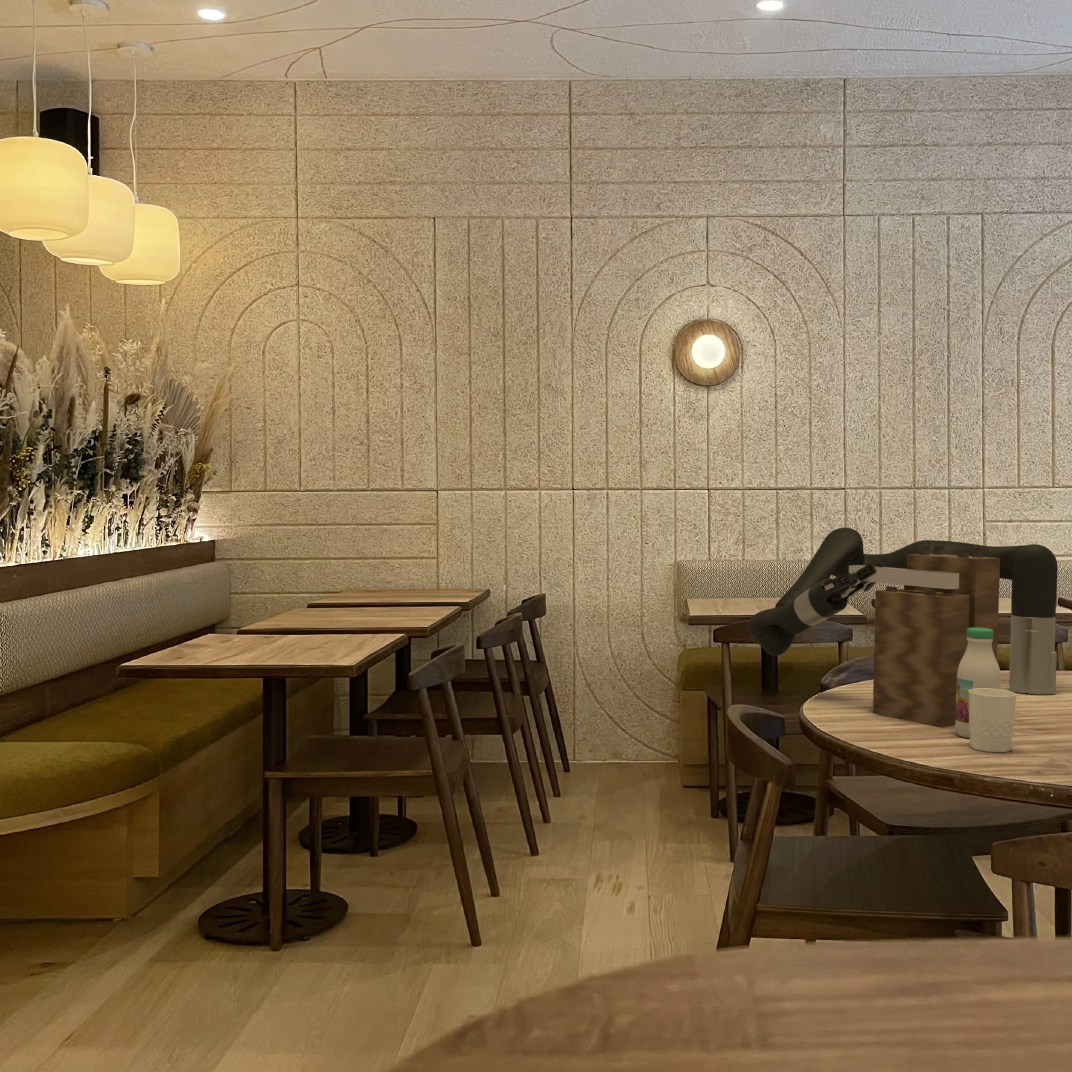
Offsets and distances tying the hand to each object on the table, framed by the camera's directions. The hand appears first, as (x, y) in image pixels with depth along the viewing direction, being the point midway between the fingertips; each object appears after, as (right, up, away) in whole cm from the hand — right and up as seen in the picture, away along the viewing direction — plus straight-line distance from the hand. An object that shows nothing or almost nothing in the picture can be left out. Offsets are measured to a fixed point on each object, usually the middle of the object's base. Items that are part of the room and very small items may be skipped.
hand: (878, 567), depth 235 cm
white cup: (+10, -31, -33) cm, 46 cm away
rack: (+10, -30, -4) cm, 32 cm away
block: (+3, -3, -4) cm, 6 cm away
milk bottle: (+11, -31, -23) cm, 40 cm away
